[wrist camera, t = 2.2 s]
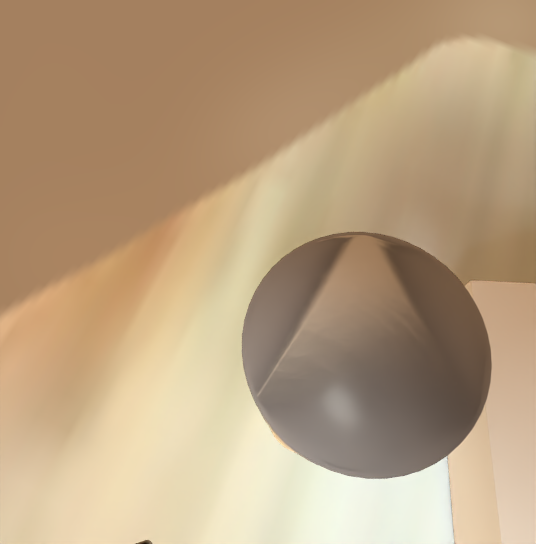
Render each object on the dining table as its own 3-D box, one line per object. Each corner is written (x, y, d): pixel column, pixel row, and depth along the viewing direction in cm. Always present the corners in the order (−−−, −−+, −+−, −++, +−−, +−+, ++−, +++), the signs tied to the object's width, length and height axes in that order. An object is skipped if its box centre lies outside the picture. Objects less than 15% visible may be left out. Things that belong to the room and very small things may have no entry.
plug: (364, 415, 19) (544, 352, 6) (304, 475, 18) (368, 543, 5) (308, 354, 20) (362, 192, 7) (248, 408, 19) (192, 333, 6)
